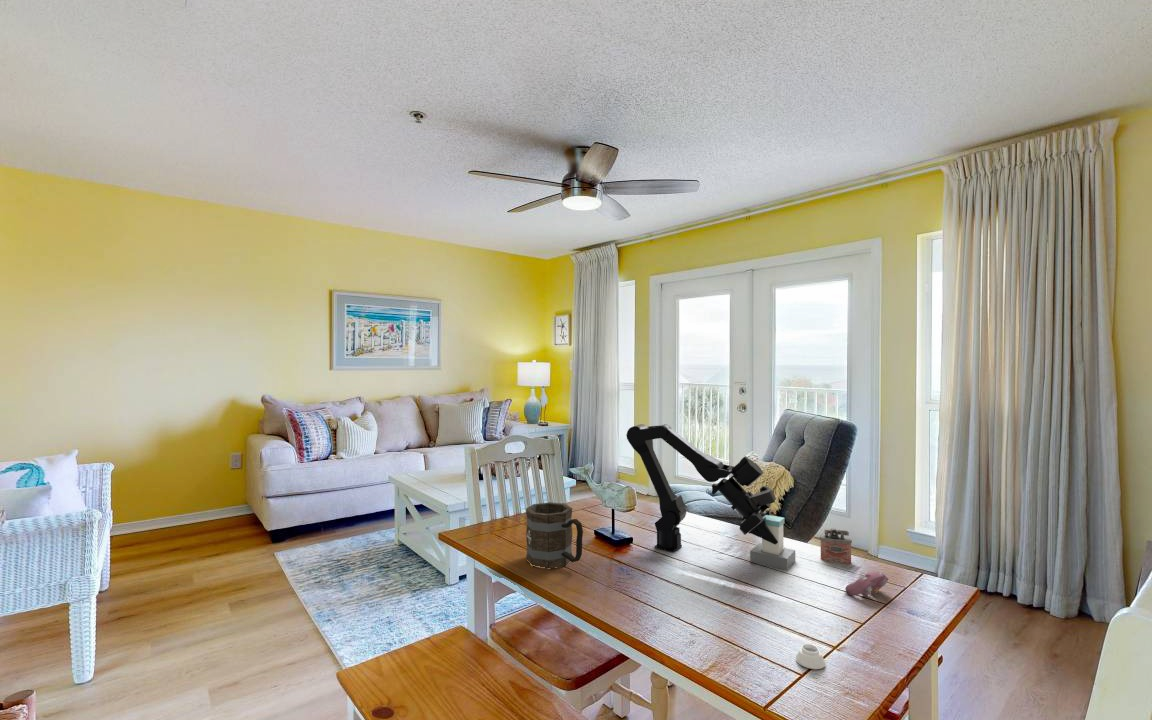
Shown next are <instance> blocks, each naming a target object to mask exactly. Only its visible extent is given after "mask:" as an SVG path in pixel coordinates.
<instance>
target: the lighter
mask: <svg viewBox="0 0 1152 720" xmlns="http://www.w3.org/2000/svg"><path fill="white" fill-rule="evenodd" d="M845 536H847V537H845ZM849 536H850V531H849V530H848V529H847V530H846V529H836V527H832V528H824V534H821V535H819V540H820V560H821V561H824V562H825V561H826V562H828V563H829V562H831V563H838V564H847V565H848V564H852V543H853V542H852V541H853V540H852V538H850V537H849Z"/></svg>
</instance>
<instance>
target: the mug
mask: <svg viewBox="0 0 1152 720" xmlns="http://www.w3.org/2000/svg"><path fill="white" fill-rule="evenodd" d="M525 511H526V513H525V514H526V532H525V533H526V534H525V537H526V556H525V557H526V558H525V560H526V559H527V560H528V561H529V562H530V563H531V564H532V565H535V566H540V567H545V568H555V567H560V568H563V567H562V566H566V565H567V564H568V563H569V562H570V561H571V562H572V563H575V562H579V561H580V560H581V558H582V555H583V538H584V536H583V534H584V530H583V529H584V528H583V525H582V522H581V521H580V520H579V519H577V518H574V519H573V518H572V516H573V507H572V506H571V505H568V504H567V503H561V502H553V501H551V502H550V501H549V502H542V503H540V502H539V503H533V504H531V505H530V506H528V507H526V508H525ZM573 524H574V525H575V527H576V533H577V534H576V539H575V540H576V541H575V542H576V543H575V544H576V546H575V549H576V550H575V556H574V555H573V552H572V550H573V549H572V545H573V543H572V541H573V527H572V526H573ZM571 562H570V563H571ZM570 563H569V564H570ZM569 564H568V565H569ZM568 565H567V566H568ZM567 566H566V567H567ZM555 569H556V568H555Z"/></svg>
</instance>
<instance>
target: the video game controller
mask: <svg viewBox="0 0 1152 720" xmlns="http://www.w3.org/2000/svg"><path fill="white" fill-rule="evenodd" d="M888 581H889V577H887V576H886V575H885V574H884V573H883V572H882V573H881V571H880V570H879V571H877V572H876V571H868V572H866V573H864V575H862V576H860V577H859V578H858V579H856V580H855V581H854V582H851V583H849V584H847V585H846V586H845V592H846V594H847V595H849V596H859V595H862V596H863V597H864V598H866V597H868V596H869V595H870V594H872V595H874V594H877V593H879V590H881V589H882V588H883V587H884V586H885V585H886V584H887V583H888Z"/></svg>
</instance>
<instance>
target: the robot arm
mask: <svg viewBox="0 0 1152 720" xmlns="http://www.w3.org/2000/svg"><path fill="white" fill-rule="evenodd" d="M657 439H661V440H663V441H664V442H665V443H667V444H668V445H669V446H670V447H672V448H673V449H674V450H675V451H676V452H678V453H679V454H681V456H683V457H684V458H685V459H686V460H688V461H689V462H690V463H691V465H693V467H694V468H695V470H696V471H697V472H698V474H699V475H700V476H701V477H702V478H703V480H705V481H706V482H709V483H712V484H711V489H712V490H711V495H713V496H714V495H715V494H717V492H719V493H720V494H721V495H722V496H723V498H725V500H727V502H729V503H730V505H731V507H730V508H731V510H733V511H734V510H736V511H737V512H738V514H739V515H740V516H741V520H742V521H741V522H740V524H739V530H740V532H741V533H742V534H743V535H745V536H746V535H747V534H751V535H754V536H756V537H758V538H761V539H764V540H766V541H769V542H771V543H773V544H775V545H776V544H777V543H778V541H777V540H776V538H775V537H774V535H773V534H772V532H771V531H770V530H769V528H768V527H767V525H766V517H765V518H764V519H763V517H764V516H765V515H771V512H772V511H771V509H770V508H771V506H772V504H773V503H775V502H776V500H777V497H776V495H775V491H774V490H772V488H771V487H770V488H769V487H768V486H767V485H763V486H760V489H759V491H758V492H756V493H754V494H753V493H752V492H751V491H746V490H745V489H744V487H745V486H746V487H750V486H751V485H752V484H754V482H756V481H757V480H758V479H759V478H760V477H761V476H763V474H764V471H763V470H762V469H761V467H760V466H759V464H757V463H756V462H754V461H753V460H752V459H751V458H748V457H747V456H746V455H745V456H743V457H742V458H741V459H740V461H739V462H738V463H736V464H735V465H729V464H724V462H722V461H721V460H719V459H717V458H715V457H714V456H712V455H710V454H708V453H705V452H703V451H701V450H700V449H698V448H697V447H696V446H695V445H693V444H692V443H691V442H689V441H688V439H686V438H684V437H683V436H682V435H681V434H680V433H679V432H676V430H675V429H673V428H672V427H671V426H670V425H669V424H660V425H652V426H647V425H645V424H641V423H640V424H637V425H634V426H631V427H629V428H628V430H627V432H626V440H627V441H628V443H629V444H630V446H631V448H632V449H633V450H634V451H636V453H637V454H638V455H639V457H640V458H641V460H642V462H643V465H644V468H645V469H646V472H647V475H648V476H649V478H650V481H651V484H652V485H653V488H654V491H655V492H656V494H657V497H658V500H659V504H658V505H659V510H660V515H661V517H660V518H659V519H657V521H655V523H654V526H655V529H656V545H654V548H655V549H657V550H662V551H666V552H670V553H674V552H676V551H677V550H679V549H680V548H682V547H683V544H682V534H681V533H680V527H678V526H679V525H680V524H681V522H682V521H683V520H684V519H685V518H686V515H687V505H686V504H685V502H684V499H683V496H682V495H681V494H679V495H678V496H677V495H676V494H675V493H674V492H673V490H672V488H671V486H670V484H669V482H668V479H667V476H666V474H665V472H664V470H663V468H662V465H661V463H660V461H659V459H658V456H657V455H656V453H655V450H654V441H653V440H657ZM731 474H732V475H731ZM729 475H731V476H730V477H729ZM728 477H729V478H728ZM727 478H728V479H727ZM719 480H720V481H719ZM718 481H719V482H718ZM714 482H718V483H714ZM767 509H768V510H767ZM766 510H767V511H766Z"/></svg>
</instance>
